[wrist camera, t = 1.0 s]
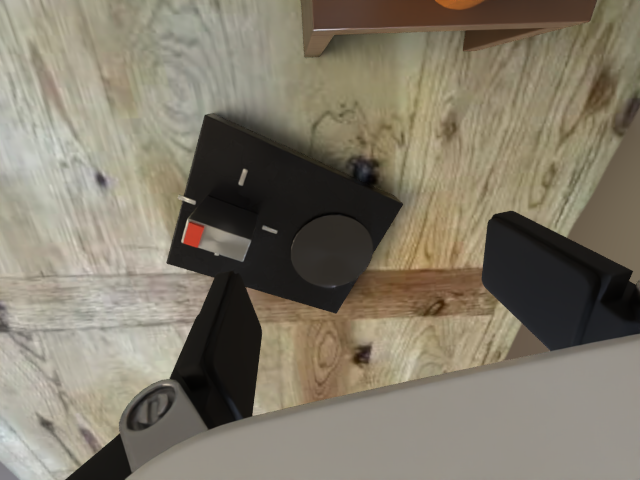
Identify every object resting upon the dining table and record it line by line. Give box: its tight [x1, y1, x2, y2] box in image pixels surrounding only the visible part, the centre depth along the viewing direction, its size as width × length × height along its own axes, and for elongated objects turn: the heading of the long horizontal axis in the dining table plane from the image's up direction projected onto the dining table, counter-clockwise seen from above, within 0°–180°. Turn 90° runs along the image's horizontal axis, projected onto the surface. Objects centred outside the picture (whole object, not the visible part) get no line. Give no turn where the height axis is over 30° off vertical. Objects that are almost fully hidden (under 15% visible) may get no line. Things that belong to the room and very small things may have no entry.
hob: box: [167, 113, 403, 313], centre depth 26 cm, size 14×18×3 cm
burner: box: [291, 214, 373, 287], centre depth 27 cm, size 8×8×1 cm
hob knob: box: [181, 196, 258, 262], centre depth 22 cm, size 4×2×5 cm, turn 65°
